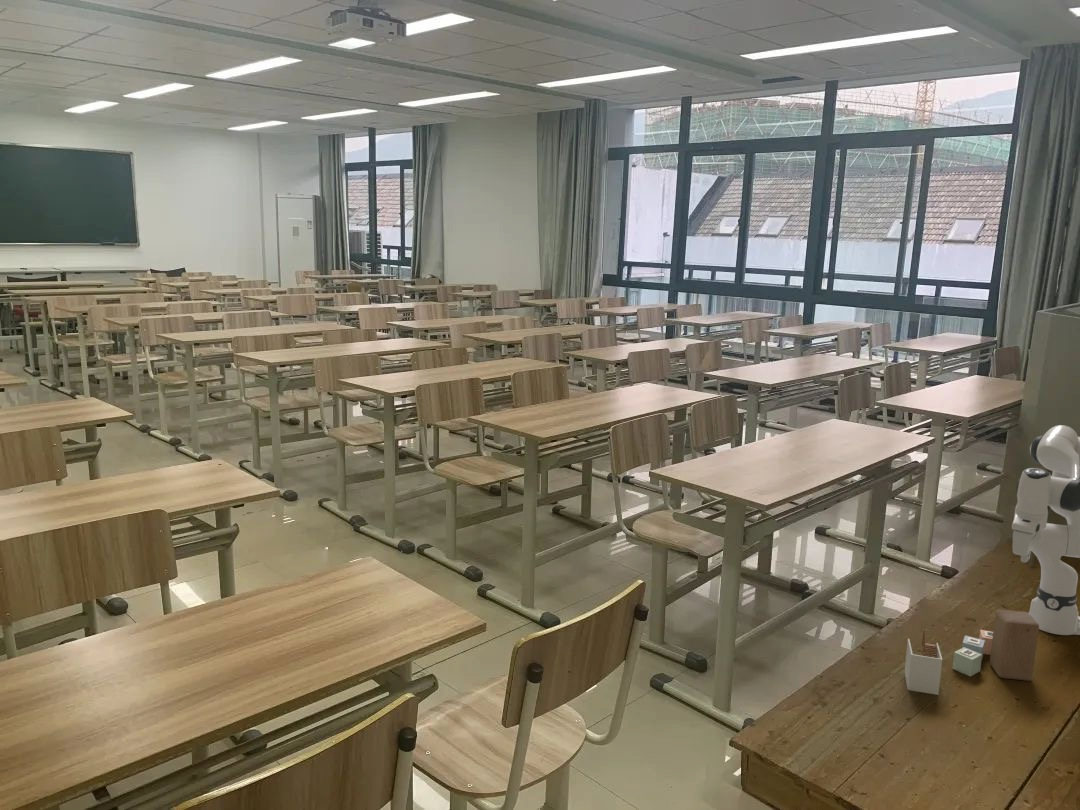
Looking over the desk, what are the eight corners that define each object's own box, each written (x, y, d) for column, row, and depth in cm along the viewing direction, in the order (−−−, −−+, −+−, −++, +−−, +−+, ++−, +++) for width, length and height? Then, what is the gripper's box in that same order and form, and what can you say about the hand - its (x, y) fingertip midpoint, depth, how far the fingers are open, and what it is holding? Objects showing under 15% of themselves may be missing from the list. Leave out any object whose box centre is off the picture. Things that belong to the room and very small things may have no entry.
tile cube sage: (962, 663, 264) (964, 645, 263) (980, 671, 259) (982, 653, 258) (952, 668, 261) (954, 650, 259) (970, 676, 256) (972, 658, 255)
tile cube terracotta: (978, 645, 276) (980, 628, 275) (997, 648, 274) (999, 631, 273) (980, 653, 271) (982, 635, 270) (999, 656, 269) (1002, 639, 267)
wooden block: (1032, 682, 253) (1040, 624, 249) (998, 678, 255) (1006, 621, 251) (1020, 666, 262) (1028, 610, 258) (988, 663, 264) (995, 608, 260)
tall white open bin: (933, 678, 256) (938, 631, 252) (938, 696, 246) (943, 647, 242) (904, 673, 259) (909, 627, 255) (907, 691, 248) (912, 642, 245)
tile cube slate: (963, 651, 272) (965, 634, 271) (982, 656, 269) (985, 639, 267) (960, 658, 267) (962, 641, 266) (980, 663, 264) (982, 646, 263)
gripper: (1027, 509, 258) (1021, 549, 260) (1010, 525, 243) (1005, 567, 246) (1049, 514, 253) (1043, 554, 256) (1034, 530, 239) (1028, 572, 241)
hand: (1024, 560), depth 251 cm, fingers closed
